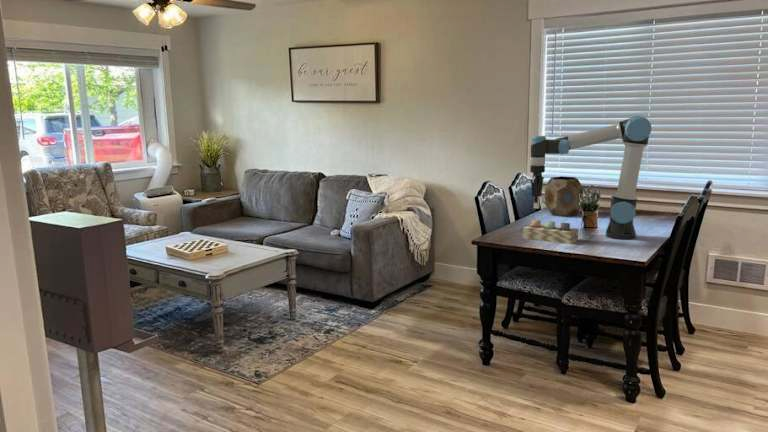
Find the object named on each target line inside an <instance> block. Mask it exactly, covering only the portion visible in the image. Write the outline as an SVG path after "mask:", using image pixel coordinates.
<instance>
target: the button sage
mask: <svg viewBox="0 0 768 432" xmlns="http://www.w3.org/2000/svg"><path fill="white" fill-rule="evenodd" d="M545 225H546V229H553V230H554V229H555V226H556V222H555V221H553V220H552V221H551V220H550V221H545Z"/></svg>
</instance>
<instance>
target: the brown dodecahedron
mask: <svg viewBox="0 0 768 432" xmlns="http://www.w3.org/2000/svg"><path fill="white" fill-rule="evenodd" d="M580 193H581V194H582V195H583V196H584V187H583V185H582V183H581V182H580V180H579V179H578V178H577V177H575V176H554V177H550V178H549V179H548V181H547V183H546V186H545V188H544V195H545V197H544V203H543V204H544V205H545V207H546V209H547V210H548V211H549V213H550V214H551V216H559V217H573V216H577V215H578V213H579V212H581V209H580V206H579V202H580V200H579V194H580ZM572 215H573V216H572Z"/></svg>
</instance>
